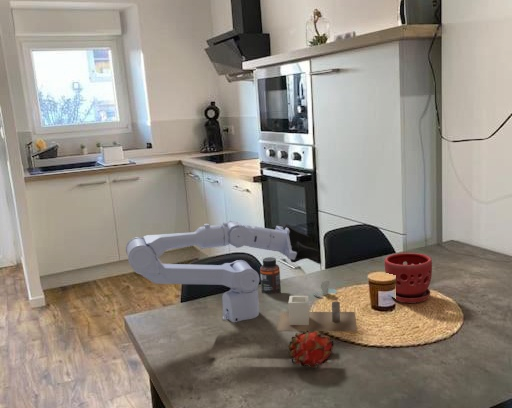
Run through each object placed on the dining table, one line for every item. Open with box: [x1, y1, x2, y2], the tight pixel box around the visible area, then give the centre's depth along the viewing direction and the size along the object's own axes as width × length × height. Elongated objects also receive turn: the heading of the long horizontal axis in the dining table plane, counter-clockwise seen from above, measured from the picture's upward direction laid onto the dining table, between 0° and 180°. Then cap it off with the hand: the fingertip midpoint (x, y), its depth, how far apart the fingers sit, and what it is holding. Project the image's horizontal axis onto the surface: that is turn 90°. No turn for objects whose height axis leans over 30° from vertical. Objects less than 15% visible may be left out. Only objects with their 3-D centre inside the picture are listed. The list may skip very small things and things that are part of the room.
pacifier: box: [313, 278, 337, 299], centre depth 157 cm, size 7×6×6 cm
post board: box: [276, 301, 358, 332], centre depth 138 cm, size 20×12×6 cm, turn 83°
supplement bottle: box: [259, 256, 282, 294], centre depth 162 cm, size 6×6×11 cm
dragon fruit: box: [287, 331, 334, 369], centre depth 119 cm, size 8×8×12 cm
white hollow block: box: [288, 295, 310, 325], centre depth 138 cm, size 5×5×6 cm
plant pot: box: [384, 252, 433, 304], centre depth 153 cm, size 13×13×12 cm
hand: (312, 246), depth 147 cm, fingers open, 7 cm apart
